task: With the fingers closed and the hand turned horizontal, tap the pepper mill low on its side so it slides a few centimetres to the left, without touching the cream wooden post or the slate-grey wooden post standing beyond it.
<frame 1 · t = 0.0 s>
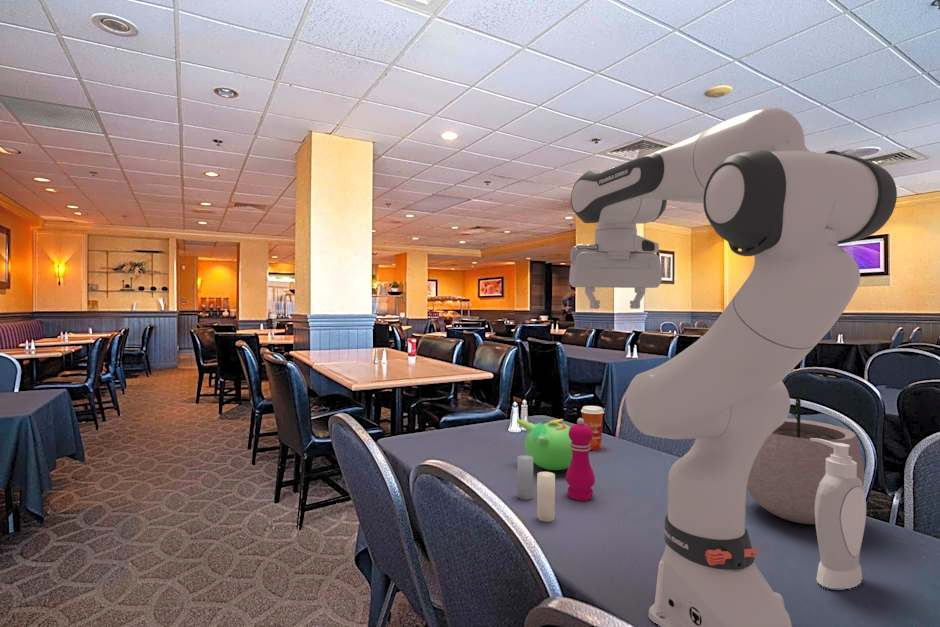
hand: (615, 308, 108), 48 cm above the table, tool pointing down, fingers open, 8 cm apart
soap bottle: (831, 579, 88), on the table
cream post: (545, 517, 113), on the table
slate post: (525, 496, 126), on the table
paper cup: (592, 449, 168), on the table
plant pot: (797, 518, 114), on the table
pepper mill: (580, 496, 126), on the table
toy bird: (550, 468, 148), on the table
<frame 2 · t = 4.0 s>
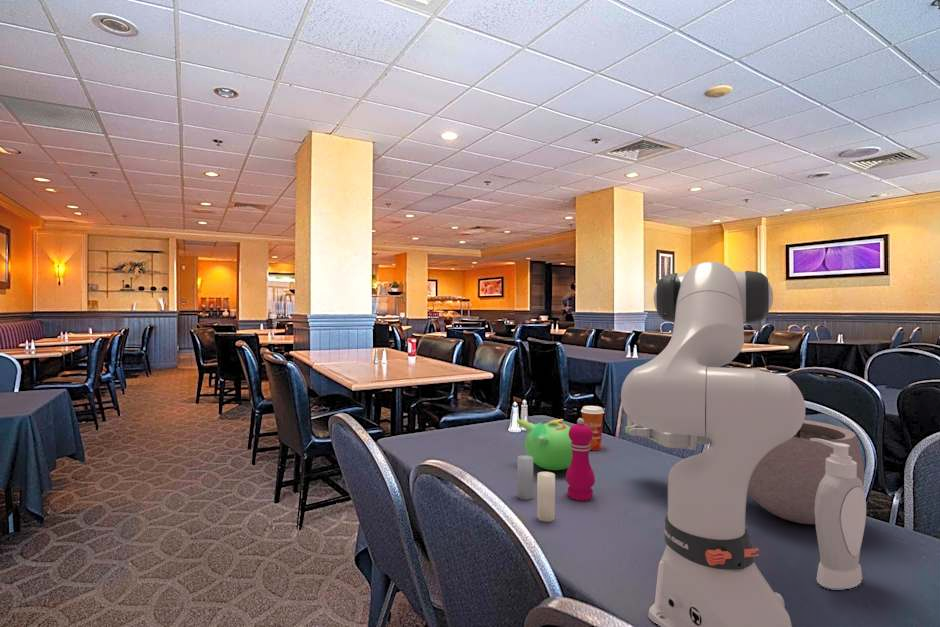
hand: (628, 431, 128), 16 cm above the table, tool horizontal, fingers closed
nothing on the table moved.
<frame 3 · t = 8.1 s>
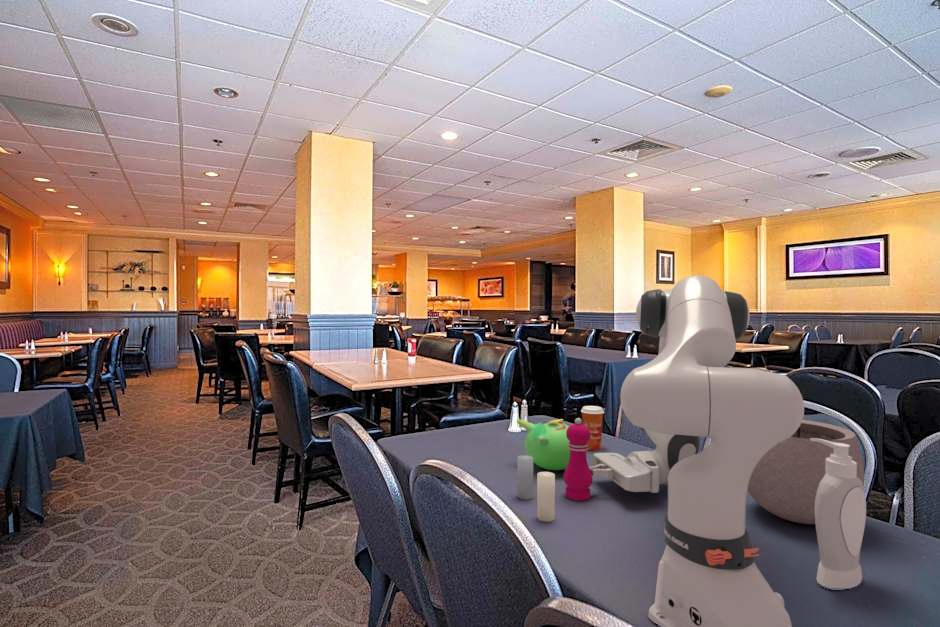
hand: (590, 471, 127), 6 cm above the table, tool horizontal, fingers closed
pepper mill: (577, 496, 126), on the table, touching gripper
everything else where it was.
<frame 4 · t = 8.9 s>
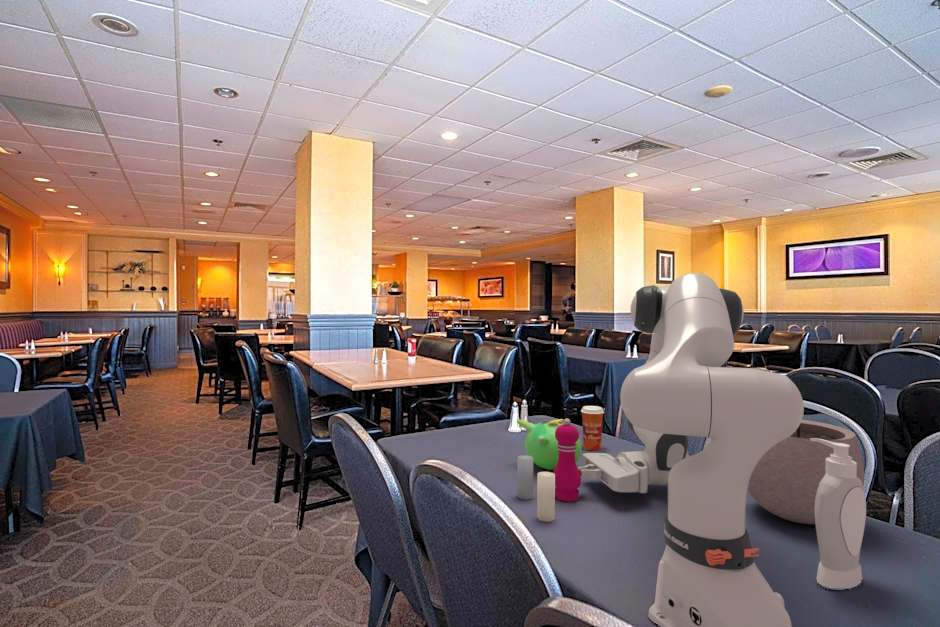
hand: (579, 472, 126), 6 cm above the table, tool horizontal, fingers closed
pepper mill: (566, 497, 126), on the table, touching gripper
everything else where it was.
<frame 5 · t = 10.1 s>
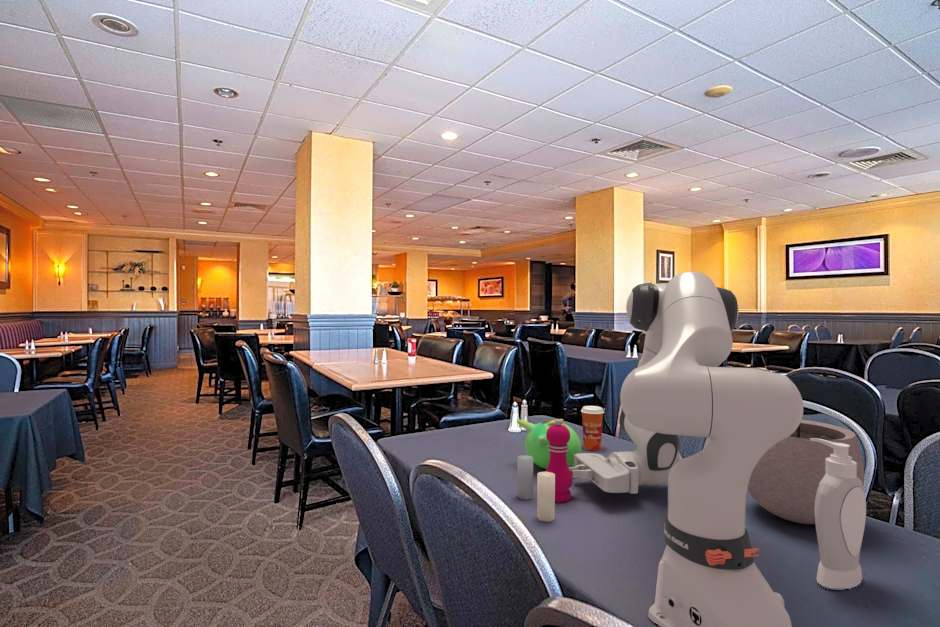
hand: (570, 472, 126), 6 cm above the table, tool horizontal, fingers closed
pepper mill: (557, 498, 125), on the table, touching gripper
everything else where it was.
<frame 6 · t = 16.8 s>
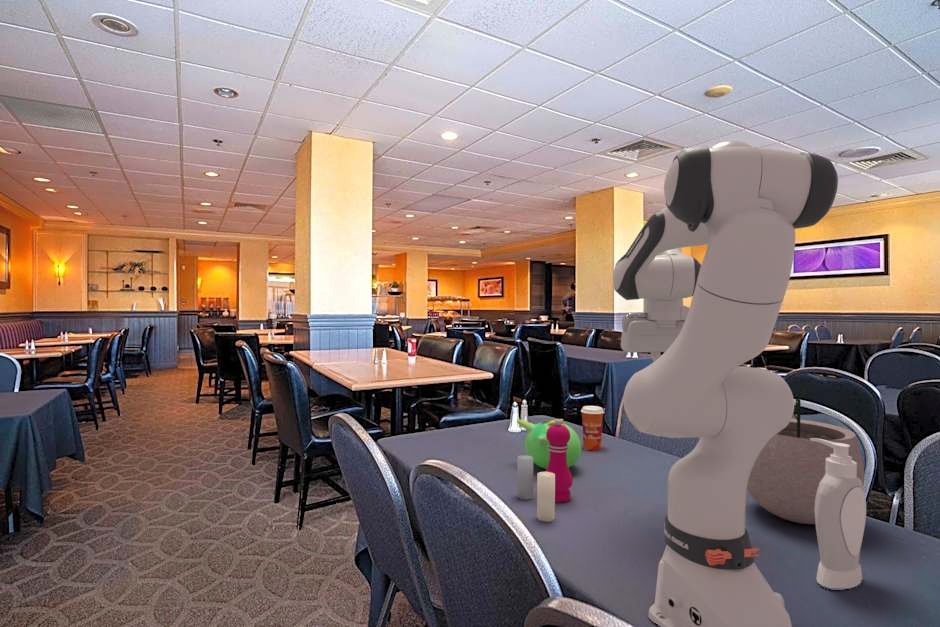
hand: (662, 370, 118), 33 cm above the table, tool pointing down, fingers closed
pepper mill: (557, 498, 125), on the table
everything else where it was.
at the end: pepper mill inside the target area (0.2 cm from its centre), on the table; pepper mill tilted 0°; cream post moved 0.0 cm from its start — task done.
